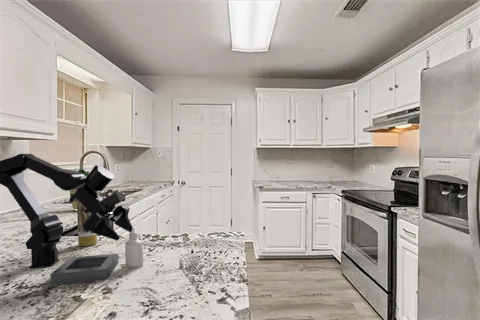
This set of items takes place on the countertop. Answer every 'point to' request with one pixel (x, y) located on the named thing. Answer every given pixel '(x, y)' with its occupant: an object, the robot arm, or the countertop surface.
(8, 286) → the countertop surface
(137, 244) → the eye dropper bottle
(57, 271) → the hollow square frame
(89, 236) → the wooden log
